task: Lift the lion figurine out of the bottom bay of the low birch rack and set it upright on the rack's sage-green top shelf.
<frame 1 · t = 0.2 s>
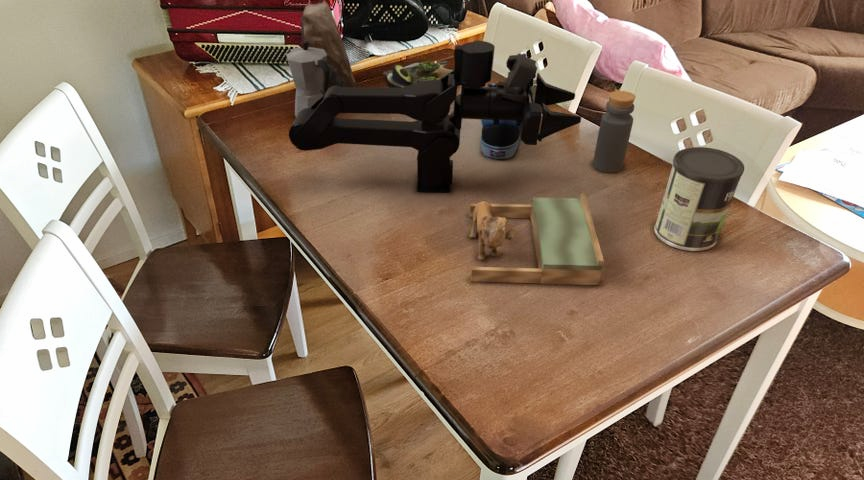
hand: (577, 107, 110), 17 cm above the table, tool horizontal, fingers open, 9 cm apart
bottle: (607, 166, 126), on the table
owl: (331, 89, 161), on the table
coffee can: (684, 234, 107), on the table
coffeepot: (316, 118, 148), on the table
lion figurine: (487, 247, 107), on the table
rack: (528, 247, 106), on the table
salad plate: (420, 83, 162), on the table
shoe: (503, 129, 140), on the table
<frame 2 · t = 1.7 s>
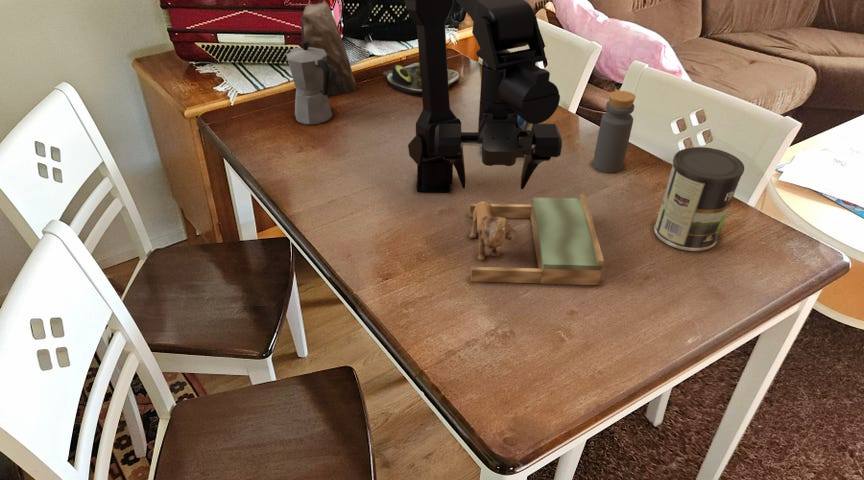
hand: (492, 187, 99), 12 cm above the table, tool pointing down, fingers open, 9 cm apart
nothing on the table moved.
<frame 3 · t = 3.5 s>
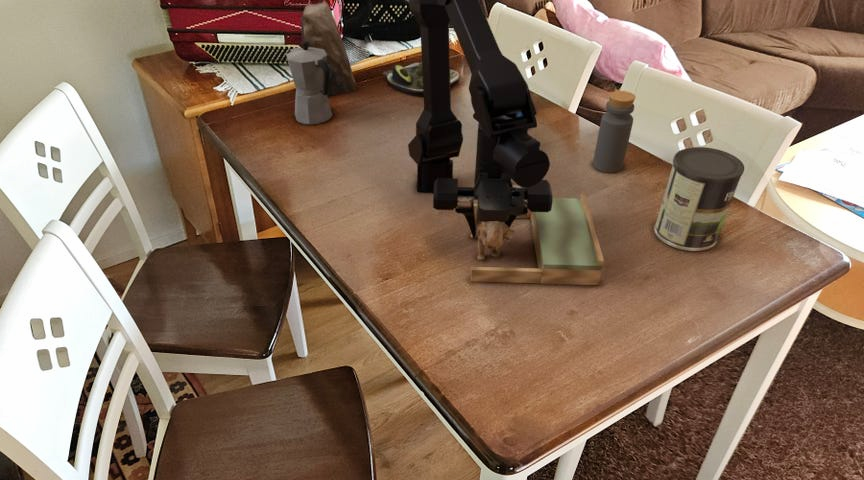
hand: (487, 236, 105), 2 cm above the table, tool pointing down, fingers closed on lion figurine, 4 cm apart
lion figurine: (488, 247, 107), on the table, touching gripper
everything else where it was.
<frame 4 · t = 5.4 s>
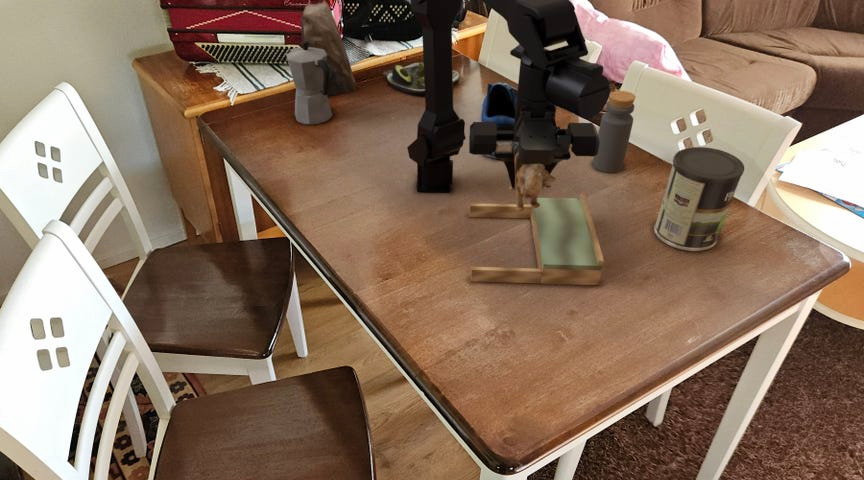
hand: (526, 187, 98), 12 cm above the table, tool pointing down, fingers closed on lion figurine, 4 cm apart
lion figurine: (528, 199, 99), point 10 cm above the table, touching gripper
everything else where it was.
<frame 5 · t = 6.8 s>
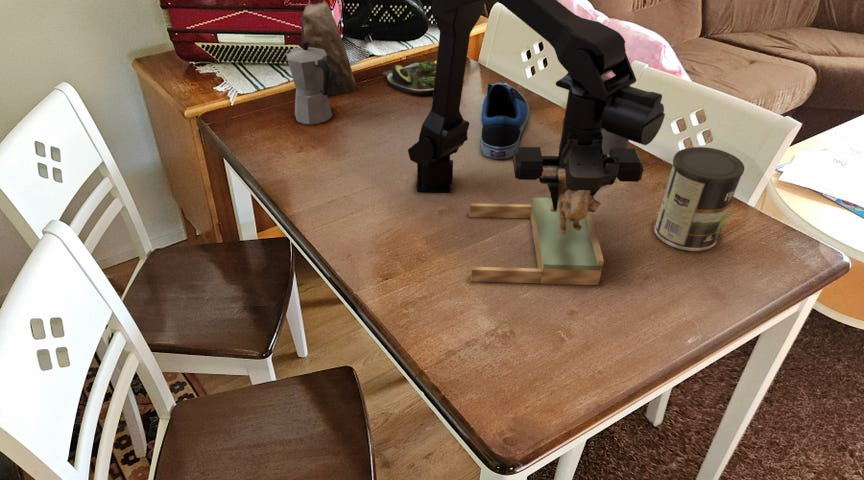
hand: (567, 209, 101), 8 cm above the table, tool pointing down, fingers closed on lion figurine, 4 cm apart
lion figurine: (569, 221, 102), point 6 cm above the table, touching gripper
everything else where it was.
when the fingers open (6 cm above the table, at t = 7.7 s): lion figurine stays where it is, resting on rack.
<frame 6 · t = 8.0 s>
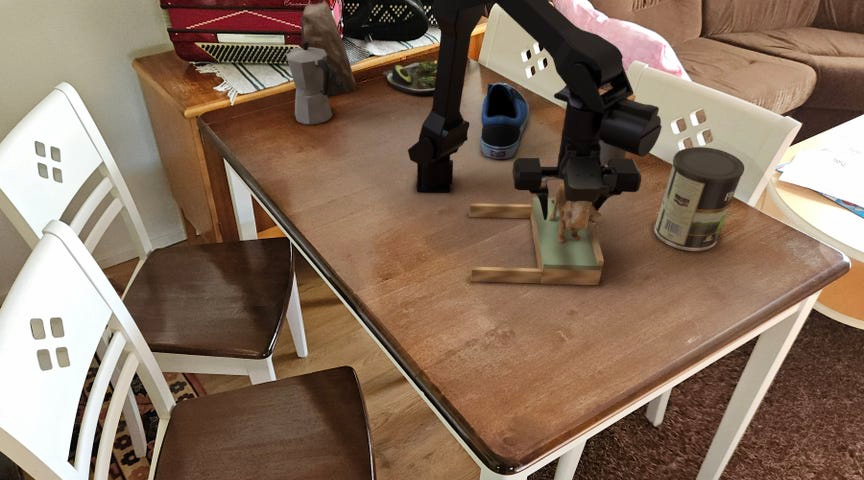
hand: (566, 219, 102), 6 cm above the table, tool pointing down, fingers open, 7 cm apart
lion figurine: (567, 230, 103), point 4 cm above the table, touching rack
everything else where it was.
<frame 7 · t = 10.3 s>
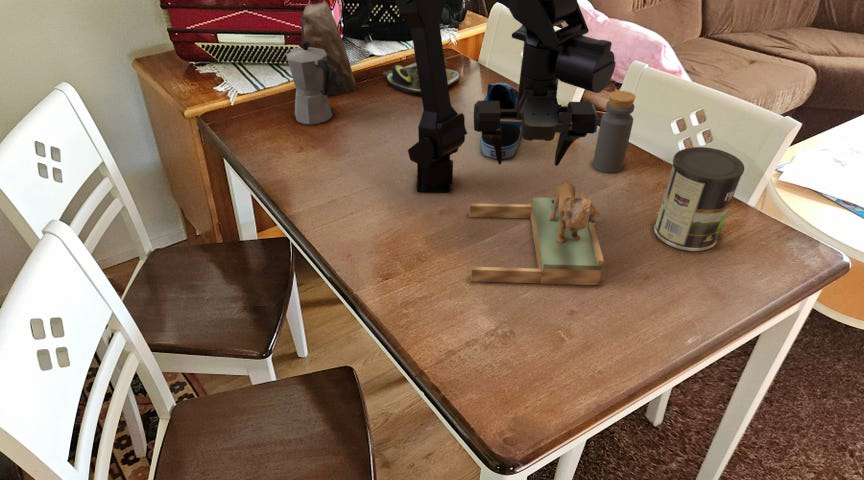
hand: (527, 163, 103), 13 cm above the table, tool pointing down, fingers open, 9 cm apart
nothing on the table moved.
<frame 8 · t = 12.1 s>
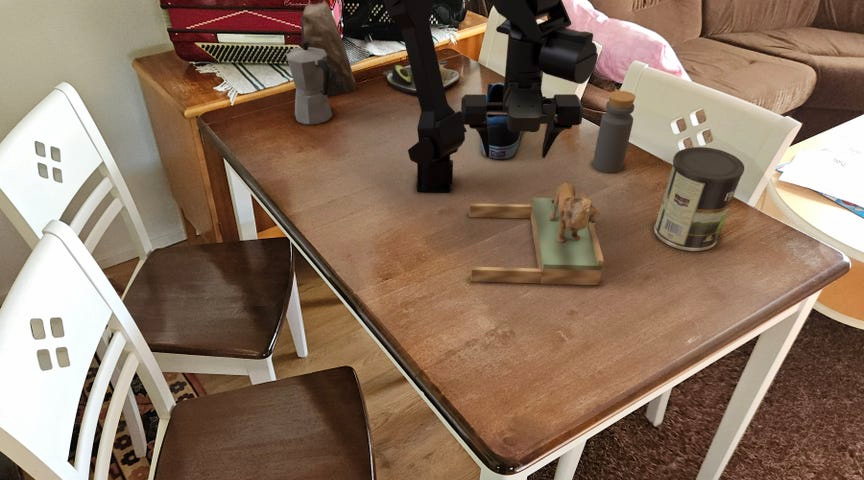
hand: (515, 156, 104), 13 cm above the table, tool pointing down, fingers open, 9 cm apart
nothing on the table moved.
at the end: lion figurine inside the target area (0.2 cm from its centre), point 3.8 cm above the table; lion figurine tilted 0°; the gripper is holding nothing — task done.
